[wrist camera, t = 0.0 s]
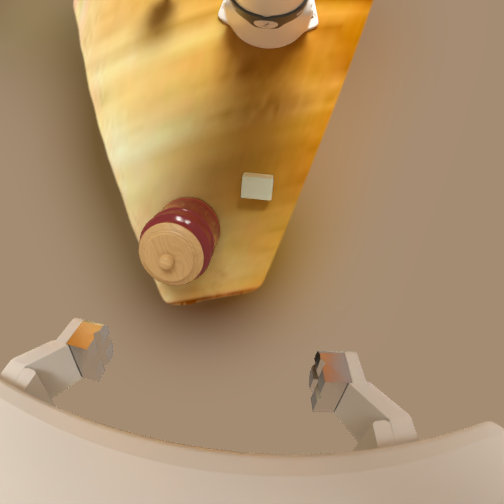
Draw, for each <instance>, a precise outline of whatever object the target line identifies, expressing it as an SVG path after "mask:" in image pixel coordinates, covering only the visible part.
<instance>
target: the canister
mask: <svg viewBox="0 0 504 504" xmlns="http://www.w3.org/2000/svg"><path fill="white" fill-rule="evenodd" d="M219 235H220V225H219V220H218V217H217V215H216V213H215V212H214V210H213V209H212V208H211V207H210V206H209V205H208V204H207V203H205V202H204V201H202V200H200V199H197V198H192V197H184V198H179V199H176V200H174V201H172V202H170V203H169V204H168V205H166V206H165V207H164V208H163V210H162V211H161V212H159V213H158V214H156V215H155V216H154V217H153V218H152V219H151V220H150V221H149V222H148V223H147V224H146V225H145V227H144V228H143V230H142V232H141V236H140V242H139V256H140V260H141V263H142V265H143V267H144V268H145V270H146V271H147V272H148V273H149V274H150V275H151V276H152V277H153V278H155V279H156V280H158V281H160V282H162V283H164V284H168V285H183V284H186V283H189V282H191V281H192V280H194V279H196V278H198V277H199V276H200V275H202V274H203V273H204V272H205V270H206V269H207V267H208V265H209V263H210V259H211V257H212V254H213V251H214V248H215V246H216V244H217V242H218V239H219Z"/></svg>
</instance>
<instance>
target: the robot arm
mask: <svg viewBox="0 0 504 504" xmlns="http://www.w3.org/2000/svg"><path fill="white" fill-rule="evenodd" d="M218 17H219V19H220V20H222V21H223V22H225V23H226V24H228V25H230V27H231V28H232V29H233V31H234V32H235V34H236V35H237V36H238V37H239V38H240V39H242V40H243V41H244V42H246V43H248V44H250V45H253V46H256V47H260V48H279V47H283V46H286V45H289V44H291V43H292V42H294V41H295V40H297V39H298V38H299V37H300V36H301V35H302V34H303V33H304V32H306V31H308V30H311V29H314V28H315V27H317V26H318V16H317V11H316V6H315V1H314V0H223V3H222V5H221V8H220V10H219V13H218ZM312 17H313V18H312ZM311 18H312V19H311ZM108 335H109V329H108V326H106V325H103V324H99V323H96V322H92V321H88V320H83V319H80V318H74V319H73V320H72V321H71V322H70V323H69V325H68V326H67V327H66V329H65V330H64V331H63V332H62V334H61V335H60V336H59V337H58V339H57V340H56V341H54V340H52V341H50V342H48V343H46V344H44V345H41V346H39V347H37V348H35V349H33V350H31V351H28V352H26V353H24V354H22V355H20V356H17V357H15V358H13V359H12V360H11V361H10V362H9V364H8V365H7V366H6V367H5V369H4V370H3V371H2V373H1V374H0V504H504V429H503V428H502V427H500V426H499V425H498V424H496V423H493V422H492V421H486V422H483V423H480V424H477V425H474V426H471V427H468V428H465V429H462V430H459V431H455V432H451V433H448V434H445V435H441V436H437V437H433V438H429V439H425V440H420V441H419V440H418V437H417V434H416V431H415V428H414V425H413V422H412V419H411V416H410V415H409V414H407V413H406V412H405V411H403V410H402V409H401V408H400V407H399V406H398V405H396V404H395V403H394V402H393V401H392V400H390V399H389V398H388V397H387V396H386V395H384V394H383V393H382V392H381V391H380V390H378V389H377V388H376V387H375V386H374V385H372V384H371V383H370V382H366V380H365V377H364V374H363V371H362V367H361V364H360V362H359V358H358V355H357V353H356V352H325V351H321V352H320V351H318V352H317V353H316V355H315V358H314V359H315V365H313V366H312V368H311V371H310V377H309V387H310V390H311V391H312V392H313V394H312V397H311V403H312V410H313V412H334V414H335V415H336V416H337V418H338V419H339V420H340V421H341V422H342V424H343V425H344V426H345V427H346V429H347V430H348V431H349V432H350V433H351V435H352V436H353V437H354V438H355V439H356V440H357V442H358V444H357V445H356V447H355V448H354V449H353V451H350V452H338V453H323V454H322V453H321V454H264V453H249V452H236V451H226V450H218V449H210V448H203V447H196V446H190V445H184V444H179V443H174V442H169V441H164V440H159V439H154V438H151V437H146V436H142V435H138V434H135V433H131V432H127V431H123V430H120V429H116V428H114V427H110V426H107V425H104V424H101V423H98V422H95V421H92V420H89V419H87V418H84V417H81V416H78V415H76V414H73V413H71V412H68V411H66V410H63V409H61V408H58V407H56V406H55V404H54V403H53V401H52V399H53V398H54V397H56V396H57V395H58V394H60V393H61V392H63V391H64V390H65V389H67V388H68V387H70V386H71V385H72V384H74V383H75V382H77V381H78V380H80V379H81V378H82V377H84V378H87V379H91V380H94V381H98V382H99V381H100V379H101V377H102V375H103V373H104V371H105V368H104V365H106V364H108V363H109V362H110V360H111V358H112V354H113V344H112V341H111V340H110V339H109V337H108Z"/></svg>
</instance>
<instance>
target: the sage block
mask: <svg viewBox="0 0 504 504" xmlns="http://www.w3.org/2000/svg"><path fill="white" fill-rule="evenodd" d="M273 181H274V178H273V175H270V174H260V173H249V172H244V174H243V176H242V188H241V198H250V199H260V200H270V201H271V199H272V190H273Z"/></svg>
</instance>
